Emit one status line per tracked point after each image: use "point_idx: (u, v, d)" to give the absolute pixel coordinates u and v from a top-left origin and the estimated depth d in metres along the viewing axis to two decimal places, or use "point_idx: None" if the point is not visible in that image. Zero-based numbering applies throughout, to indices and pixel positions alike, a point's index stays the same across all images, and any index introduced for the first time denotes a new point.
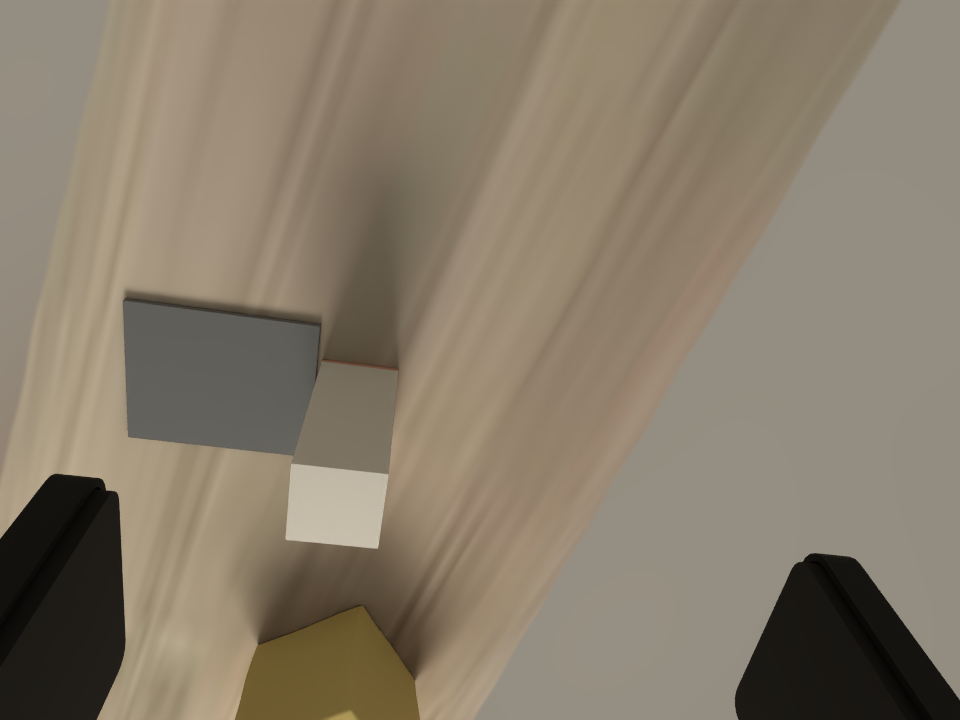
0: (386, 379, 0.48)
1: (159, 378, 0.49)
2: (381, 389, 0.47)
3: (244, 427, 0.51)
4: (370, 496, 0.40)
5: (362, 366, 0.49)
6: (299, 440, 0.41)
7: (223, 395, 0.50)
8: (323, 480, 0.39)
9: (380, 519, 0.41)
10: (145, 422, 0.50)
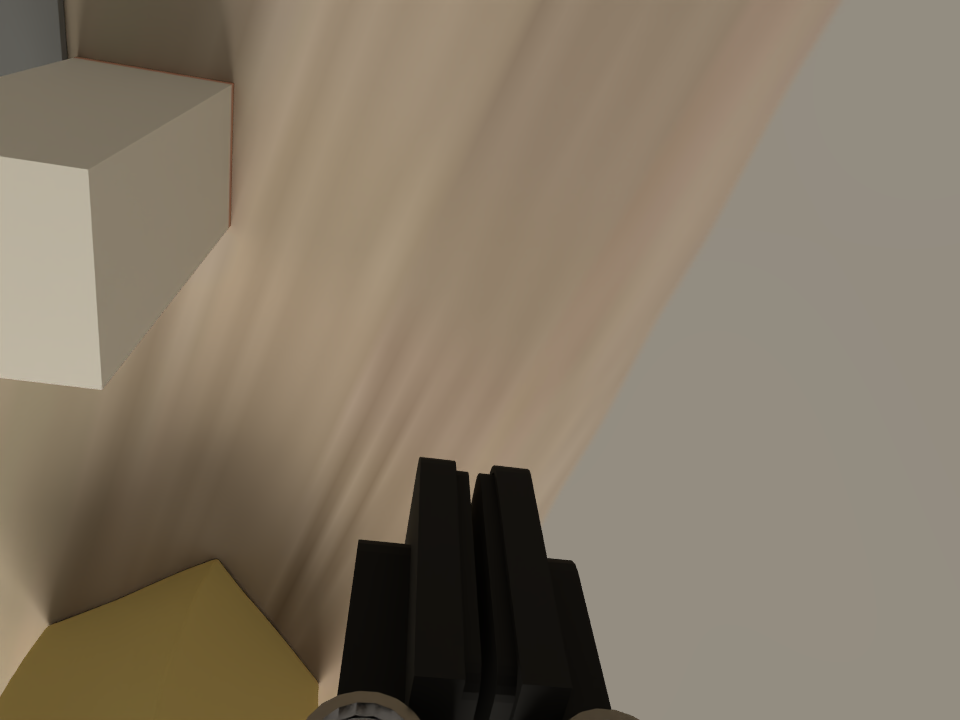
0: (198, 86, 0.24)
1: None
2: (178, 92, 0.22)
3: None
4: (53, 237, 0.15)
5: (158, 71, 0.25)
6: None
7: None
8: None
9: (92, 307, 0.16)
10: None
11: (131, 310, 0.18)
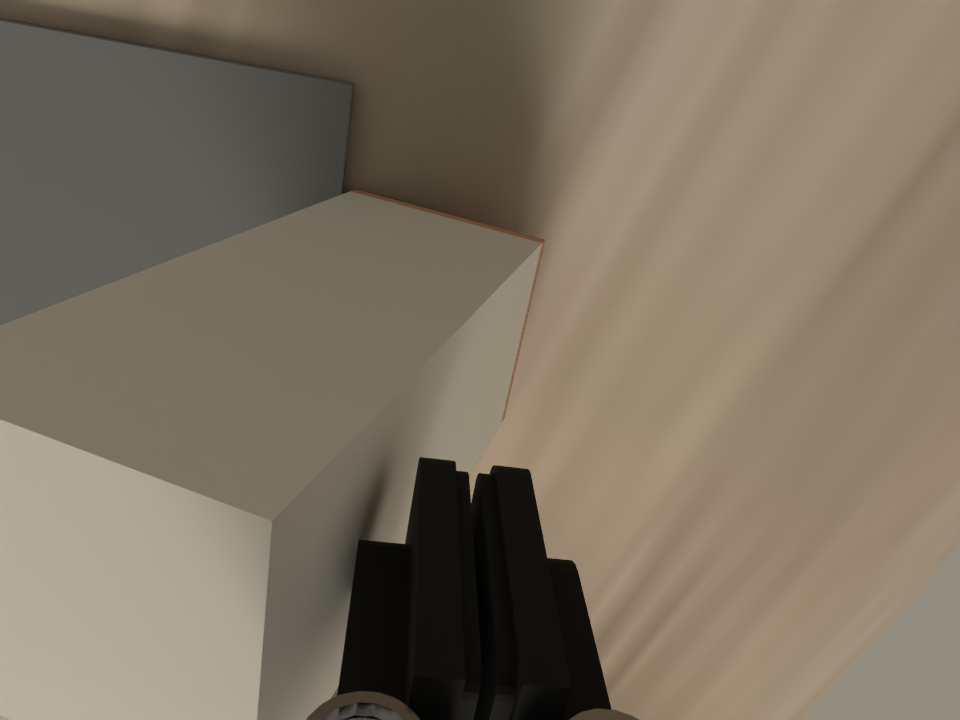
0: (497, 249, 0.17)
1: None
2: (469, 262, 0.15)
3: None
4: (202, 607, 0.08)
5: (449, 217, 0.18)
6: (40, 312, 0.10)
7: (97, 283, 0.19)
8: (7, 482, 0.08)
9: None
10: None
11: (329, 660, 0.11)
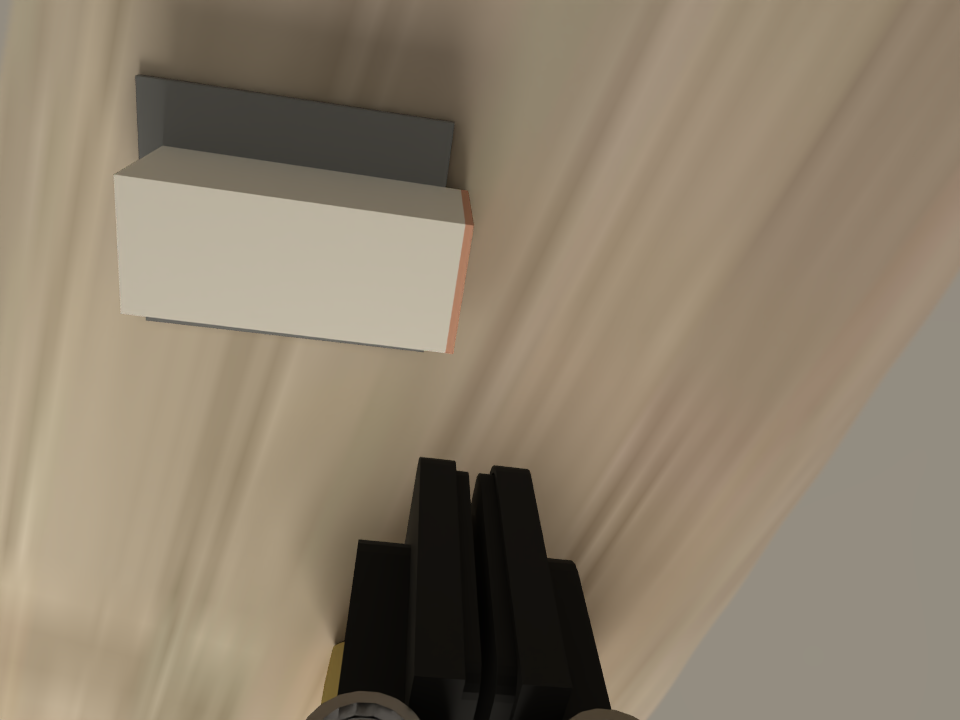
0: (425, 213, 0.27)
1: None
2: (387, 206, 0.27)
3: None
4: None
5: (464, 206, 0.28)
6: (219, 154, 0.29)
7: None
8: None
9: (118, 259, 0.26)
10: None
11: (176, 292, 0.27)
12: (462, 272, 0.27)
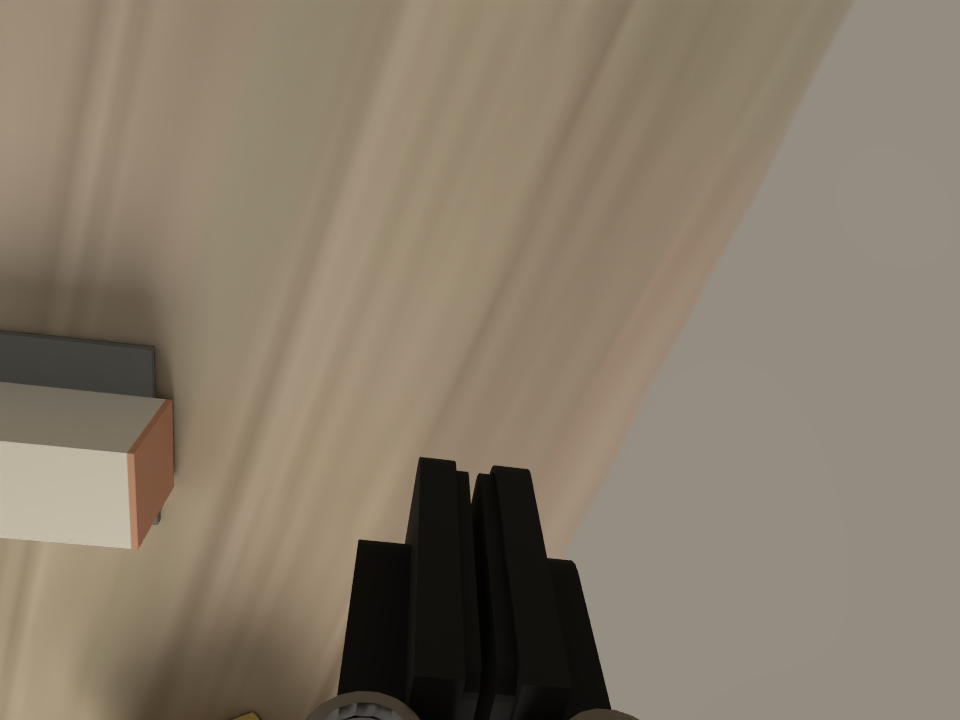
0: (99, 441, 0.32)
1: None
2: (67, 435, 0.32)
3: None
4: None
5: (147, 426, 0.34)
6: None
7: None
8: None
9: None
10: None
11: None
12: (132, 488, 0.32)
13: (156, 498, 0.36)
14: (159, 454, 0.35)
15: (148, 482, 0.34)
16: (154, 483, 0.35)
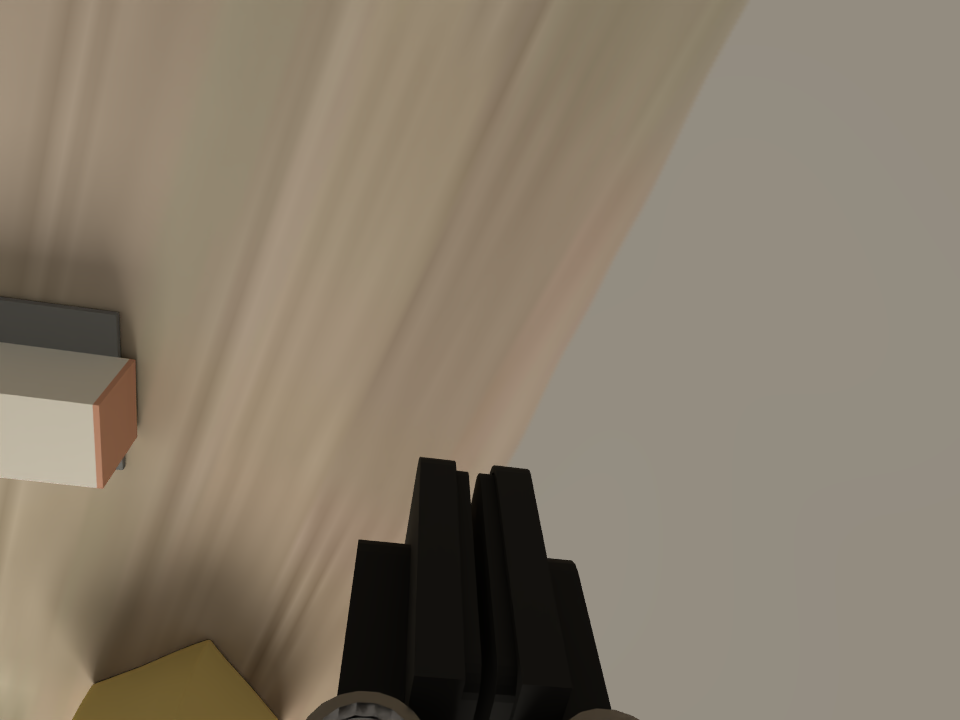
0: (68, 393, 0.37)
1: None
2: (41, 388, 0.37)
3: None
4: None
5: (111, 381, 0.39)
6: None
7: None
8: None
9: None
10: None
11: None
12: (97, 435, 0.37)
13: (120, 445, 0.41)
14: (123, 407, 0.40)
15: (112, 431, 0.39)
16: (118, 432, 0.40)
